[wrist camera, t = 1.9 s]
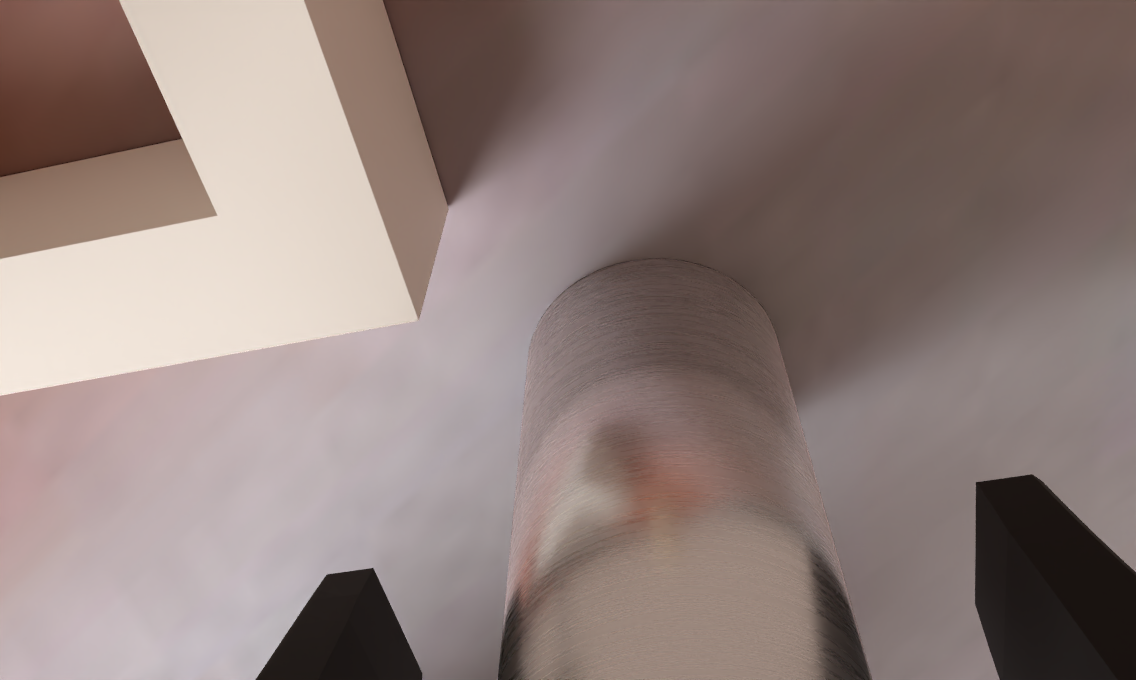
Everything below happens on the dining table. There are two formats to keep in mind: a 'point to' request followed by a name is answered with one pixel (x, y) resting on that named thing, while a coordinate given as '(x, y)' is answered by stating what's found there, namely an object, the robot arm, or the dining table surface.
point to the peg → (668, 494)
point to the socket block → (228, 201)
